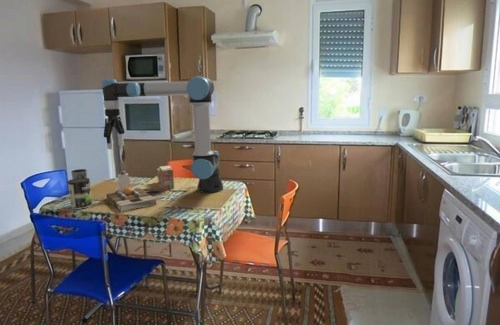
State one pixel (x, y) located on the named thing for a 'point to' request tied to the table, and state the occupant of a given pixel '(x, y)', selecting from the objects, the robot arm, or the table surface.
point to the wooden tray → (131, 199)
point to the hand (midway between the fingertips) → (115, 147)
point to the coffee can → (80, 193)
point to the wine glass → (79, 173)
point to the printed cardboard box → (165, 177)
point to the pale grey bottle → (123, 181)
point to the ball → (127, 191)
